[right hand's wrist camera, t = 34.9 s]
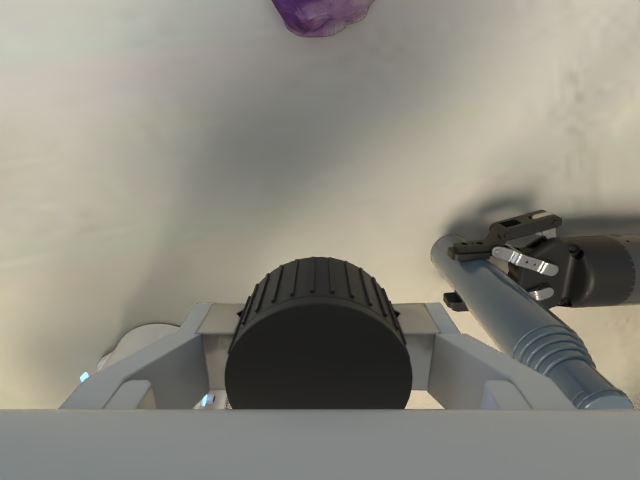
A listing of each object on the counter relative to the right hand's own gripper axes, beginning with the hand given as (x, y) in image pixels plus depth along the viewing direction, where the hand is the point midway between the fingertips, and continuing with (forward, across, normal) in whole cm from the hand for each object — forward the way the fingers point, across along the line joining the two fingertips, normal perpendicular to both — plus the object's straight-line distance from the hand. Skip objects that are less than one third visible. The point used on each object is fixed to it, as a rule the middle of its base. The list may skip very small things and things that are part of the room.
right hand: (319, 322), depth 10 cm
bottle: (+31, +16, -10) cm, 37 cm away
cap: (-2, 0, 0) cm, 2 cm away
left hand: (+24, +14, -11) cm, 30 cm away
